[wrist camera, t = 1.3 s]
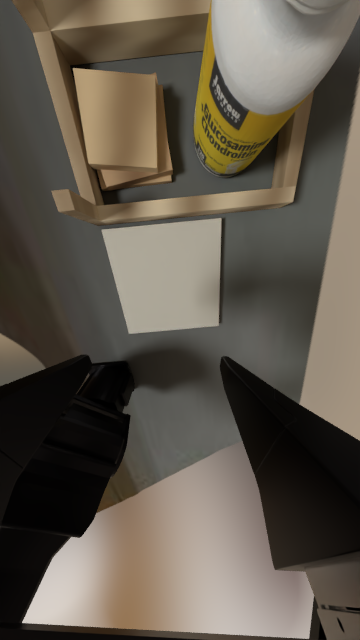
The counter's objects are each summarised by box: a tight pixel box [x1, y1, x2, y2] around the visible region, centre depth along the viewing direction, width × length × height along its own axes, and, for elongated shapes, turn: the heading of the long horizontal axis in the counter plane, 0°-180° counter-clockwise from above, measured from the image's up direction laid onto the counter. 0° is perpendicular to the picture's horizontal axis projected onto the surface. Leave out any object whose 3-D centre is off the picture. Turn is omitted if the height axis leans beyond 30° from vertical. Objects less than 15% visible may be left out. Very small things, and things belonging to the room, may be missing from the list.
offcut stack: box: [73, 68, 173, 191], centre depth 13 cm, size 7×6×3 cm
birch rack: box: [12, 0, 314, 226], centre depth 11 cm, size 20×12×6 cm, turn 95°
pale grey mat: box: [102, 218, 221, 334], centre depth 19 cm, size 13×13×1 cm
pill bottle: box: [193, 0, 360, 177], centre depth 8 cm, size 6×6×12 cm
